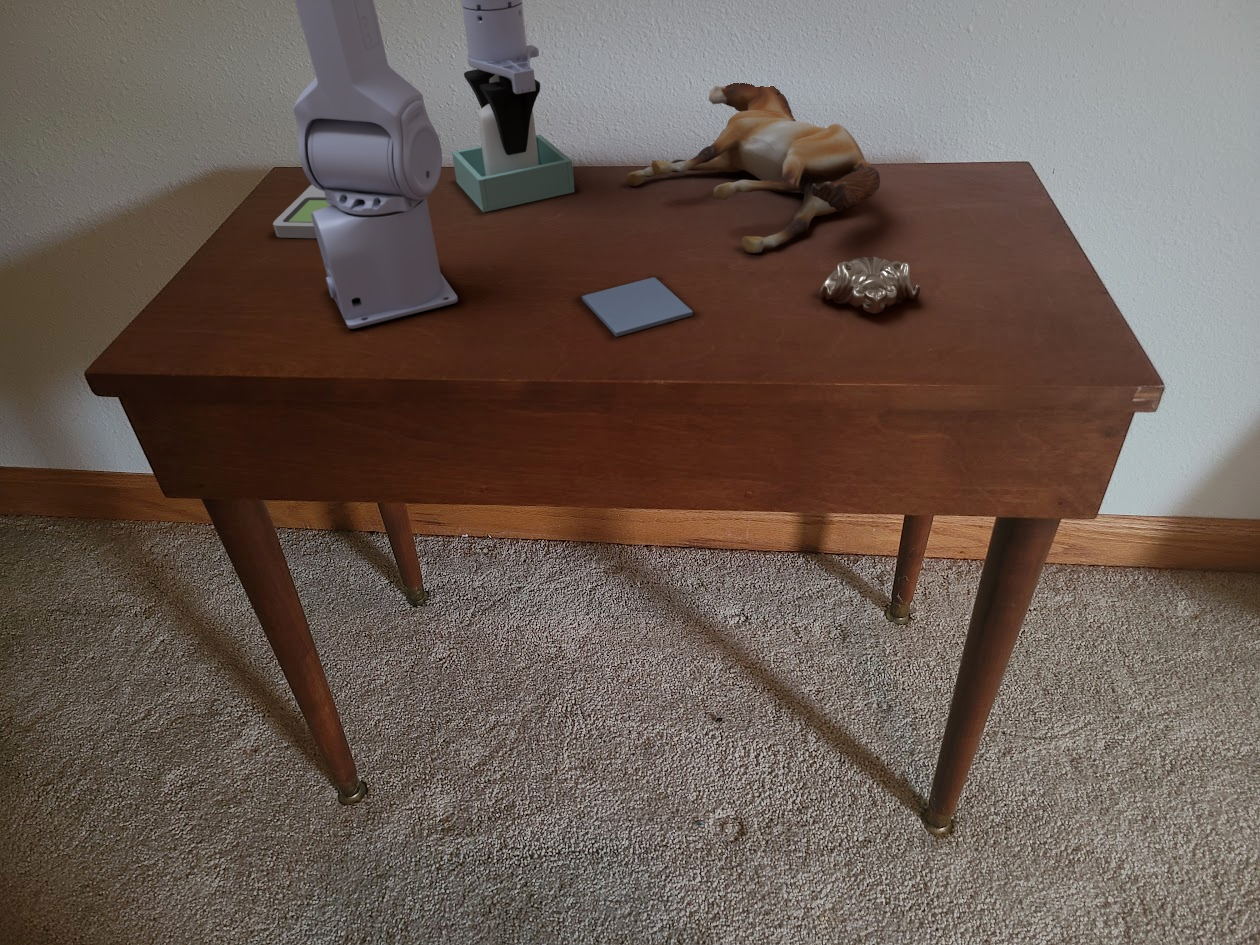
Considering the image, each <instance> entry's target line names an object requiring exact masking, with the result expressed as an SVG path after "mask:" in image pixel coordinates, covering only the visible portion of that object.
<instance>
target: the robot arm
mask: <svg viewBox="0 0 1260 945" xmlns="http://www.w3.org/2000/svg"><path fill="white" fill-rule="evenodd" d="M460 1H461V7H462V15H463V16H462V17H463V23H464V31H465V37H466V47H467V54H466V58H467V64H468V66H469V67H470V68H473V69H471V70H466V71H465V72H464V73H463V76H464V79H465V80H466V82H467V83H468V85H469V86H470V88H471V90H472V91H473V93H474V95H475V97H476V100H477V102H478V104H479V106H480V110H481V109H482V108H483V107H484V106H486V105H488V104H490V106H491V109H492V111H493V113H494V116H495V119H496V123H497V126H498V130H499V135H500V139H501V142H502V145H503V148H504V150H505V153H506V154H507V155H513V154H518V153H523V152H526V149H527V143H528V134H529V125H530V118H531V114H532V110H534V106H535V103H536V100H537V98H538V96H539V93H540V92H541V82H540V81H538V80H537V79H536V77H535V70H534V68H532V67H531V59H532V58H537V57H539V56H540V50H539V47H537V46H535V45H533V44H527V35H526V26H525V16H524V9H523V8H524V6H523V0H460ZM294 3H295V7H296V10H297V13H298V17H299V20H300V24H301V27H302V31H303V35H304V39H305V42H306V46H307V49H308V52H309V56H310V60H311V63H312V67H313V70H314V73H315V77H314V79H313V80H312V81H311V82H310V83H309V84H308V85H307V86H306V87H305V89H304V90H303V91H302V92H301V93H300V95H299V96H298V98H297V100H296V101H295V103H294V104H293V107H292V111H293V114H294V118H295V121H296V125H297V132H298V143H297V144H298V146H297V148H298V157H299V161H300V164H301V167H302V170H303V172H304V175H305V176H306V178H307V180H308V182H309V183H310V184H311V185H313V186H314V187H316V188H317V189H319V190H322V191H324V192H325V196H326V200H327V203H328V204H331V205H329V206H327V207H325V208H322V209H319V210H316V211H314V212H312V213H311V216H312V221H313V225H314V229H315V233H316V237H317V238H316V240H317V243H318V247H319V252H320V255H321V258H322V262H323V266H324V269H325V273H326V277H325V281H326V282H325V283H326V286H327V289H328V292H329V294H330V297H331V299H334V301H335V303H336V305H337V307H338V310H339V311H340V313H341V314H340V315H341V316H342V318H343V320H344V322H345V324H346V326H347V328H348V329H350V330H354V329H359V328H362V327H366V326H371V325H375V324H380V323H382V322H387V321H391V320H394V319H399V318H402V317H407V316H410V315H413V314H414V315H415V314H418V313H421V312H426V311H431V310H434V309H437V308H438V309H439V308H441V307H446V306H450V305H453V304H456V303H458V301H459V299H458V295H457V293H456V292H455V290H453V288H452V287H451V285H450V283H448V281H447V280H446V278H445V277H444V275H443V274H442V272H441V269H440V268H441V267H440V263H439V257H438V253H437V246H436V242H435V236H434V230H433V225H432V220H431V215H430V209H429V203H428V199H427V198H429V197H430V195H431V194H432V193H433V192H434V190H435V188H436V187H437V185H438V183H439V180H440V177H441V174H442V168H443V151H442V145H441V141H440V137H439V135H438V133H437V131H436V129H435V127H434V126H433V124H432V122H431V120H430V116H429V115H428V112H427V109H426V106H425V101H424V100H425V99H424V97H423V94H422V93H421V92H420V91H419V89H417V88H416V87H415V86H414V85H413V84H411V83H410V82H409V81H408V80H406V79H405V78H404V77H403V76H401V75H400V74H399V73H397V72H396V70H394V68H392V67H391V66H390V64H389V63H388V60H387V54H386V50H385V47H384V40H383V35H382V31H381V27H380V23H379V19H378V16H377V15H378V14H377V10H376V6H375V1H374V0H294ZM495 74H496V75H500V76H499V82H493V83H489V79H490V78H491V77H493V76H494V75H495Z"/></svg>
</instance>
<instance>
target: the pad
mask: <svg viewBox="0 0 1260 945" xmlns="http://www.w3.org/2000/svg"><path fill="white" fill-rule="evenodd" d="M581 300H582V302H583V303H584V304H585V305H586V306H587V307H588V308H589V309H590V310H591V311H592V312H593V314H595V316H596V317H597V318H598V319H599V320H600V321H601V323H602V324H604V325H605V327H607V328H608V330H609V331H610V332H611V333H612V334H613V335H614V336H615V337H616V338H617V337H621V336H624V335H628V334H632V333H635V332H638V331H642V330H646V329H649V328H653V327H656V326H660V325H664V324H668V323H671V322H674V321H678V320H682V319H685V318H688V317H692V316H693V314H694V311H693V310H692V309H691V308H689V306H688V305H686V304H685V302H683V301H682V300H681V299H680V298H678V296H676V295H675V294H674V293H673V292H672V291H671V290H670V289H669V288H667V286H665V285H664V284H663V282H661V281H660V280H659V279H658V278H657V277H655V276H653V277H648V278H645V279H641V280H637V281H633V282H629V283H626V284H623V285H618V286H615V287H611V288H606V289H603V290H599V291H595V292H591V293H587V294H583V295H582V296H581Z"/></svg>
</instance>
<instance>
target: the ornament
mask: <svg viewBox="0 0 1260 945" xmlns="http://www.w3.org/2000/svg"><path fill="white" fill-rule="evenodd" d="M910 271H911V266H910V264H909V263H908V262H905V261H904V262H900V261H898V260H894V261H889V260H887V259H886V258H879V257H877V256H871V257H865V256H859V257H857V258H853V259H850V260H848V261H847V260H842V261H840V262H839V263H838V264H837V266H836V268H835V269H834V270H833V271H832V272H831V273H830V274H829V275H828V276H827V277H826V279H825V280H824V281H823V283H822V285H821V287H820V288H819V291H818V296H819V298H820V299H824V298H825V299H826V300H829V301H830V300H832V301H833V302H834V303H836V304H837V305H844V304H848V303H850V304H851V305H852V306H854V307H856V308H858V307H860V306H862V310H863V311H866V312H868V313H871V314H878V313H879V314H880V313H881V312H883V311H884V310H885V308H890V307H892V306H894V305H900V304H901V303H903V301H904V300H908V299H909V300H910V301H912V300H914V299H918V297H919V295H920V293H921V285H920V284H916V285H914V287H913V286H912V285H911V280H910V279H911V278H910V277H911V276H910Z"/></svg>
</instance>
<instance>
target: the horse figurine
mask: <svg viewBox="0 0 1260 945" xmlns="http://www.w3.org/2000/svg"><path fill="white" fill-rule="evenodd" d="M726 85H727V84H726ZM775 87H776V86H775ZM775 87H774V86H770V87H764V86H760V87H755V86H754V85H752V84H751V85H750V84H747V83H746V84H745V83H740V84H739V83H733V84H730V85H727V86H725V85H722V86H721V85H715V86H713V88H711V89H710V91H709V96H708V101H709V102H710V103H712V104H713V105H719V104H723V105H726V106H728V107H731V108H734V109H735V111H737V112H736V113H735V114H733V115H732V116H730V117H729V119H728V120H727V124H726V126H725V128H724V129H723V130H722V131H721V133H719V135H718V137H717V138H716V140H714V142H713V143H712V144H711V145H708V146H706V147H704V148H702V149H701V150H700V151H699V152H698V154H697V155H696V156H694V157H693V158H691V159H689V160H686V159H674V160H673V161H671V162H670V161H667V160H652V162H651V166H648V167H646V168H643V169H638V170H635V171H631V172H629V173H627V175H626V183H627V184H628V185H629V186H631V187H636V186H639V185H642V183H645V180H646V178H648V179H650V178H653V177H655V176H657V177H659V176H663V175H669V174H671V173H677V174H678V173H681V174H684V173H687V172H688V171H692V172H694V171H695V172H716V171H720V172H725V173H736V172H737V173H738V172H742V171H745V172H747V173H749V174H751V175H753V176H754V177H756V178H757V179H758V180H752V179H751V180H750V179H739V180H737V181H734V182H733V181H732V182H727V181H726V182H725V183H720V184H718V185H716V186H715V187H714V188H713V191H712V195H713V197H714V198H715V199H718V200H727V199H729V198H731V197H732V196H733V195H735V193H736V192H740V193H751V192H752V193H753V192H759V191H774V192H778V193H795V194H799V193H800V194H803V195H804V197H803V201H802V205H801V206H800V207H799V208H798V209H797V210H796V211H795V213H794V215H793V219H792V221H790V223H789V224H788V225H787V227H785V228H784V229H782V230H781V231H778V232H777V233H775V234H771V235H768V236H766V237H762V236H758V235H757V236H751V235H750V236H749V235H748V236H747V235H746V236H743V237H742V239H741V247H742V249H743V251H745V252H746V253H750V254H758V253H761V252H763V250H764V248H770V249H775V247H777V246H778V245H780V244H781V243H782V242H784V241H785V240H788V239H789V238H791V237H792V236H797V235H800V234H802V233H805V232H807V231H808V229H809V227H810V224H811V221H812V219H813V218H814V217H821V216H826V215H830V214H833V213H836V212H842V211H843V210H847V209H848V208H849V207H855V205H858V203H859V202H863V201H864V200H866V199H868V198H869V197H872V196H873V195H875V194H876V192H877V191H878V190H879V189H880V185H881V177H880V173H879V171H878V170H877V169H876V167H875V166H873V165H872V164H871V163H870V162H868V161H867V160H866V158H865V156H864V154H863V152H862V149H861V147H860V146H859V144H858V143H857V141H856V140H855V138H854V136H853V135H852V134H851V133H850V132H849V130H847V128H845V127H844V126H843V125H841V124H840V123H832V124H830V125H828V127H821V126H818V125H815V124H812V123H810V122H807V121H799V120H798V121H797V120H796V118H795V117H794V115H793V112H792V109H791V106H790V104H789V101H788V99H787V98H786V96H785V95H784V94H783V93H782V92H781V91H780V89H779V88H778V89H779V90H778V89H776V88H777V87H776V88H775Z"/></svg>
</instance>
